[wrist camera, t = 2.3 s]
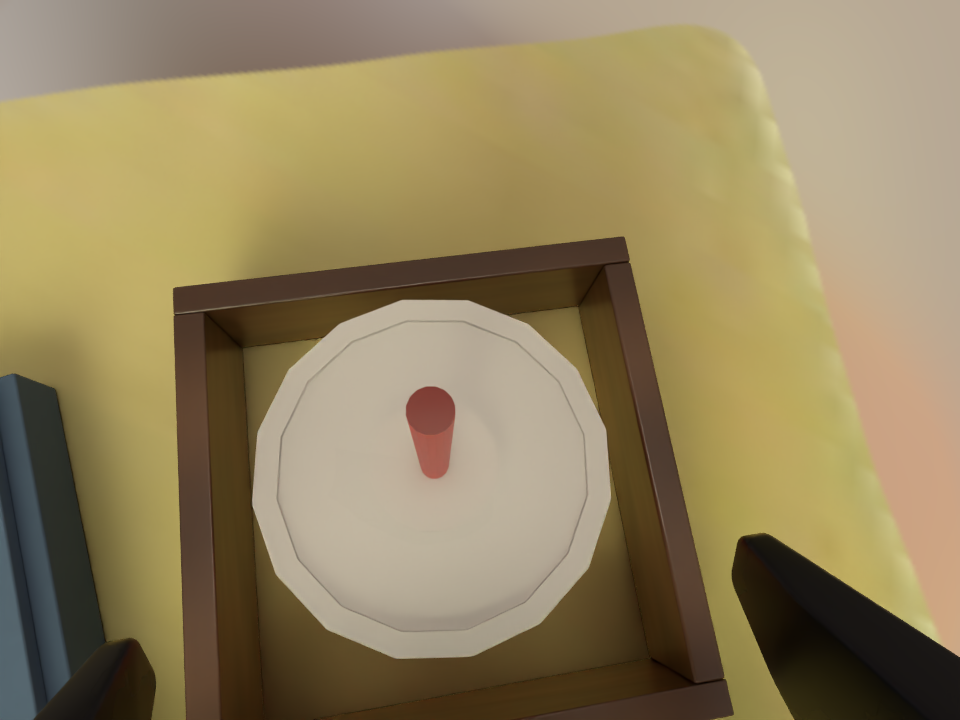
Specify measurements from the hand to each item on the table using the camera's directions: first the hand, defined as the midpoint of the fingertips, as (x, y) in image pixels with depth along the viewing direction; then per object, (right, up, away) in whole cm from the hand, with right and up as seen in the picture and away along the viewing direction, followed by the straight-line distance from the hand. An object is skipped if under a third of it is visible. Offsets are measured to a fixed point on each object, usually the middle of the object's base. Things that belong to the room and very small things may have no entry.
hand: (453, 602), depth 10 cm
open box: (-1, -1, +10) cm, 10 cm away
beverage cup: (-1, -1, +10) cm, 10 cm away
